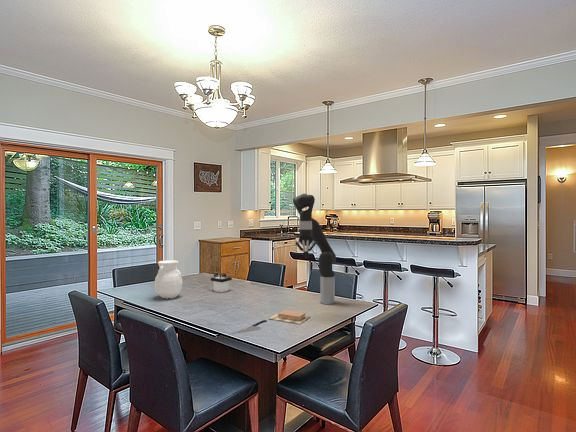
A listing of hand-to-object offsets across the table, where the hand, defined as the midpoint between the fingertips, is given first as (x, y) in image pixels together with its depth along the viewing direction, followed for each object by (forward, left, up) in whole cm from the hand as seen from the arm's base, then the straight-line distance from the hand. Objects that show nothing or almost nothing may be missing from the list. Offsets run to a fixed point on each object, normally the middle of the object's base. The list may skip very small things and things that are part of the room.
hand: (305, 257), depth 210 cm
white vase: (-23, -98, -32) cm, 106 cm away
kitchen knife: (+34, -24, -33) cm, 53 cm away
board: (+14, -8, -32) cm, 36 cm away
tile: (+12, -13, -30) cm, 35 cm away
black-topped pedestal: (-47, -68, -33) cm, 89 cm away
